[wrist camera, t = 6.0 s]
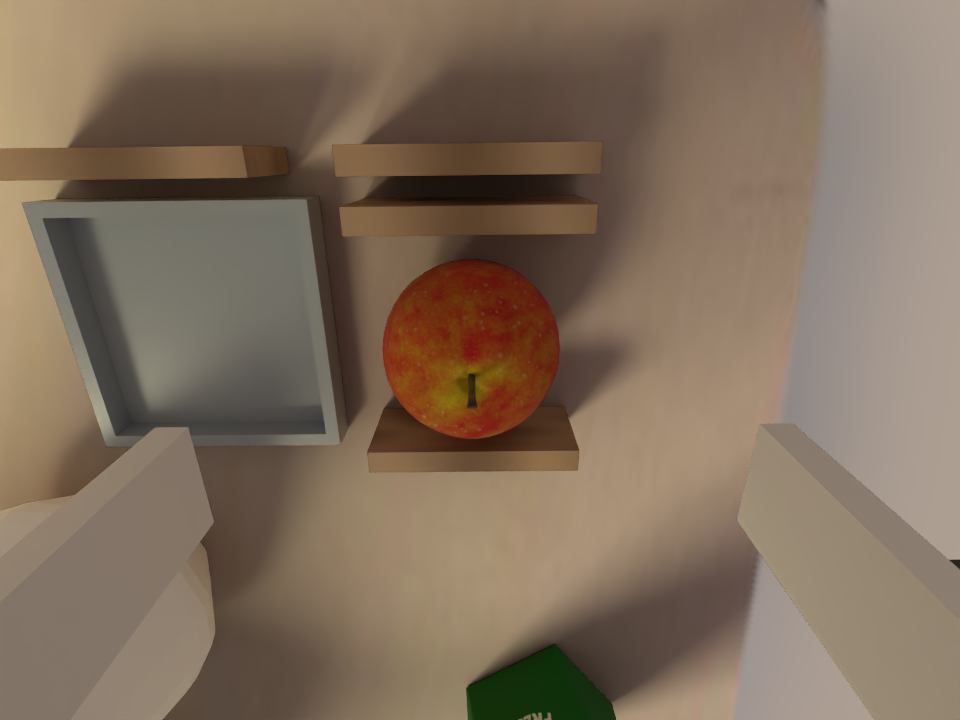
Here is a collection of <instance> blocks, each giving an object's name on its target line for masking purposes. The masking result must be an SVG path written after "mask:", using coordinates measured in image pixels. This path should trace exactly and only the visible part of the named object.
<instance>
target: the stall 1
mask: <svg viewBox="0 0 960 720" xmlns="http://www.w3.org/2000/svg"><path fill="white" fill-rule="evenodd" d="M282 174H289V169H288V162H287V155H286V148H284V147H260V146H178V147H95V148H12V149H0V181H12V180H97V179H182V178H250V177H260V176H271V175H282Z"/></svg>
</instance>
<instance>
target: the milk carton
mask: <svg viewBox="0 0 960 720" xmlns="http://www.w3.org/2000/svg"><path fill="white" fill-rule="evenodd" d="M466 691H467V712H468V720H616V717H615V713H614V710H613V706H612V704H611V703H610V702H609V700H608V699H607V698H606V697H605V696H604V695H603V694H602V693H601V692H600V691H599V690H598V689H597V688H596V687H595V686H594V685H593V684H592V683H591V682H590V681H589V679H588V678H587V677H586V676H585V675H584V674H583V673H582V672H581V671H580V670H579V669H578V668H577V667H576V666H575V665H574V664H573V663H572V662H571V661H570V660H569V659H568V657H567V656H566V655H565V654H564V653H563V652H562V651H561V650H560V649H559V648H558V647H557V646H556V645H555V644H554V645H552V646H550V647H548V648H546V649H544V650H542V651H540V652H538V653H536V654H534V655H532V656H530V657H528V658H526V659H524V660H522V661H520V662H518V663H516V664H514V665H512V666H510V667H508V668H506V669H504V670H502V671H500V672H497V673H495V674H493V675H491V676H489V677H487V678H485V679H483V680H481V681H479V682H477V683H475V684H473V685H471V686H469V687H467V688H466Z"/></svg>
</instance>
